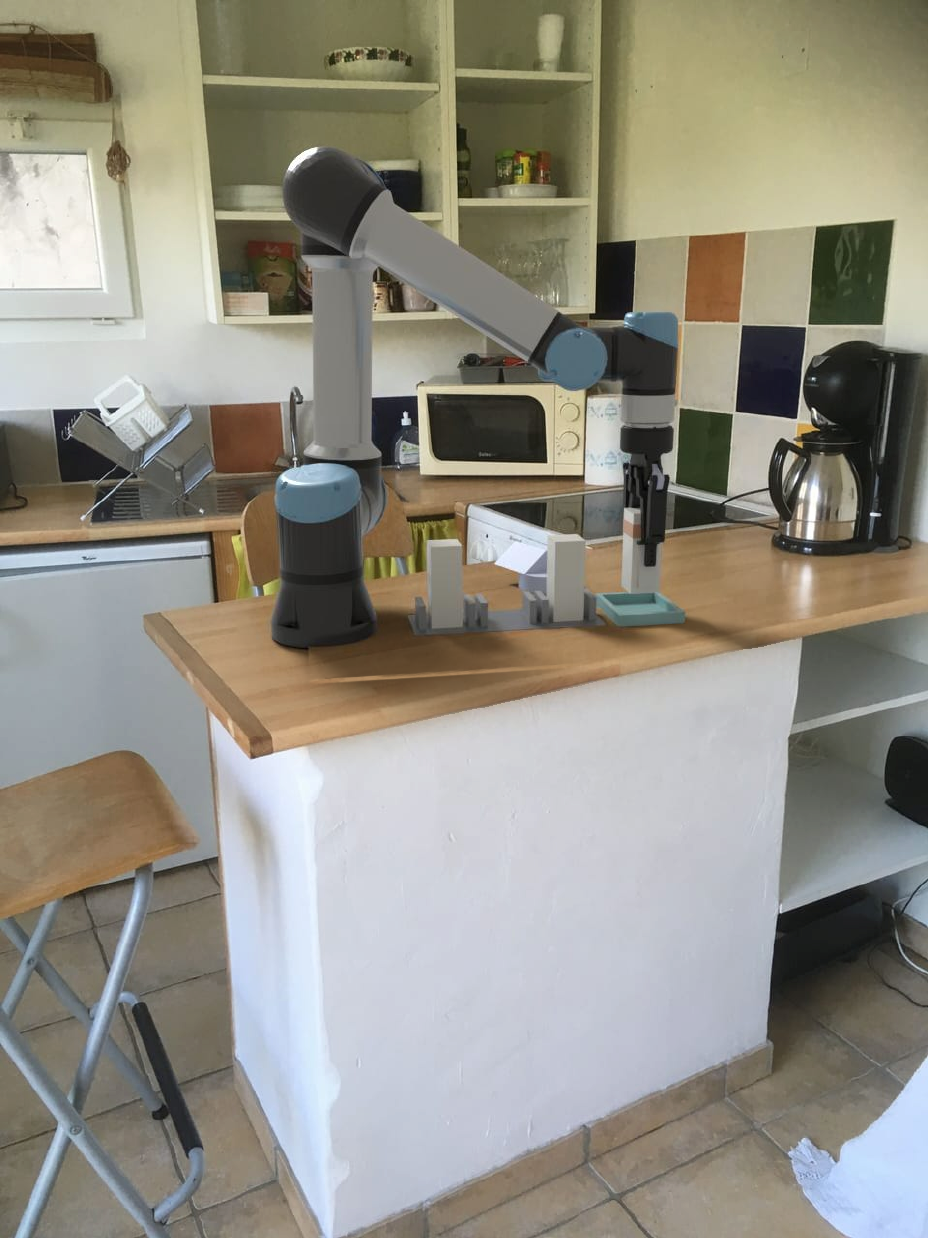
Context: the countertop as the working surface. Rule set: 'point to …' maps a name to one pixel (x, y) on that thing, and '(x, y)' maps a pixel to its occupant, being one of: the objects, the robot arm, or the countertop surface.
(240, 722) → the countertop surface
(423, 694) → the countertop surface
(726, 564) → the countertop surface
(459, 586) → the block
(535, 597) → the holder
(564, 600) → the block
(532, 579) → the wedge on round base
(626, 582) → the block
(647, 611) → the tray
